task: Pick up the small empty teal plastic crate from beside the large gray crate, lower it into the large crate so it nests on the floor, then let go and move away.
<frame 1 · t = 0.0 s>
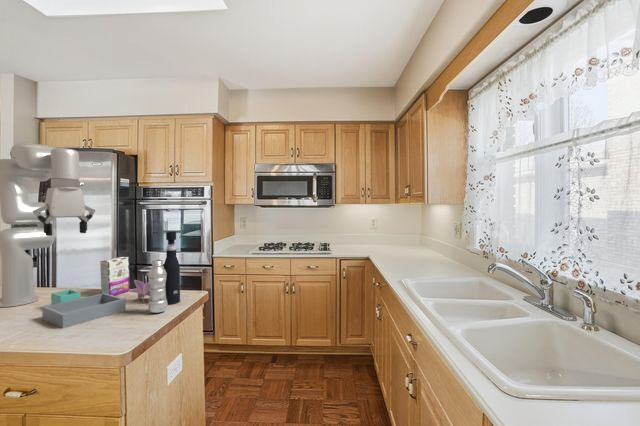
hand: (66, 234, 104), 31 cm above the counter, tool pointing down, fingers open, 9 cm apart
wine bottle: (171, 302, 128), on the counter
plastic bottle: (158, 312, 116), on the counter
lily: (145, 301, 130), on the counter
teal crate: (66, 307, 121), on the counter
gray crate: (85, 314, 113), on the counter
candy bar box: (115, 294, 140), on the counter
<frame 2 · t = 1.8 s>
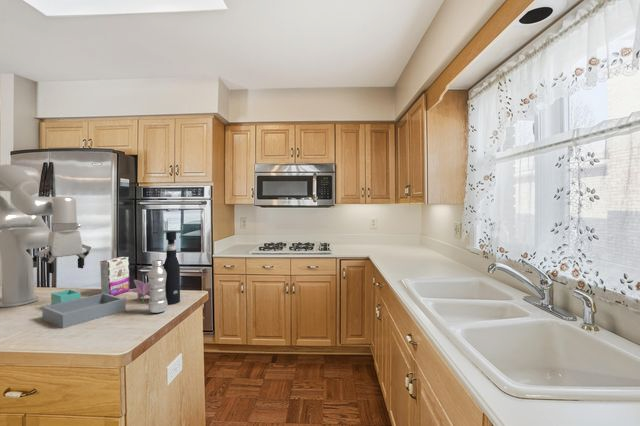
hand: (66, 270, 121), 15 cm above the counter, tool pointing down, fingers open, 9 cm apart
nothing on the counter moved.
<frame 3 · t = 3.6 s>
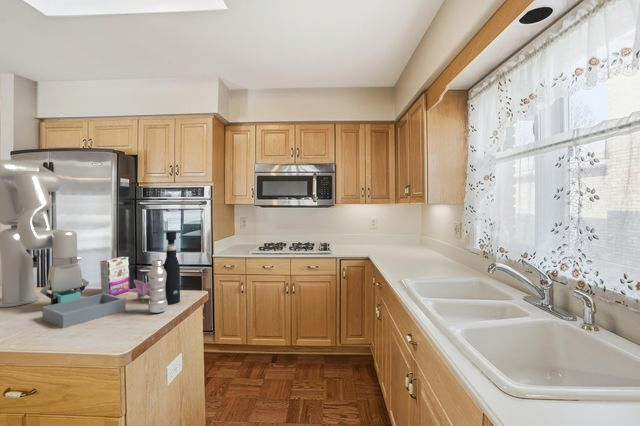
hand: (66, 305, 121), 1 cm above the counter, tool pointing down, fingers closed on teal crate, 6 cm apart
teal crate: (66, 307, 121), on the counter, touching gripper
everything else where it was.
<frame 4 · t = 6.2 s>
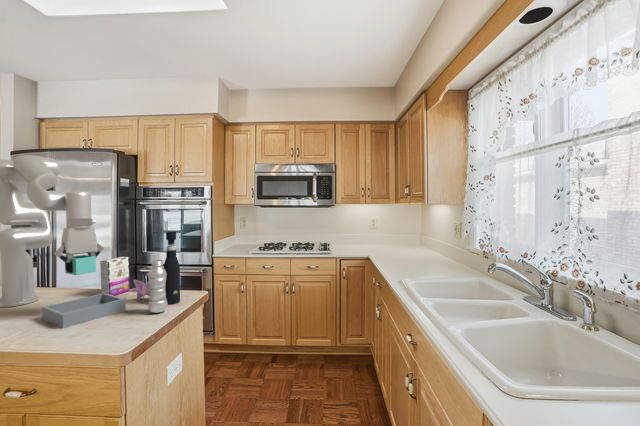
hand: (80, 270, 115), 16 cm above the counter, tool pointing down, fingers closed on teal crate, 6 cm apart
teal crate: (80, 272, 115), point 16 cm above the counter, touching gripper
everything else where it was.
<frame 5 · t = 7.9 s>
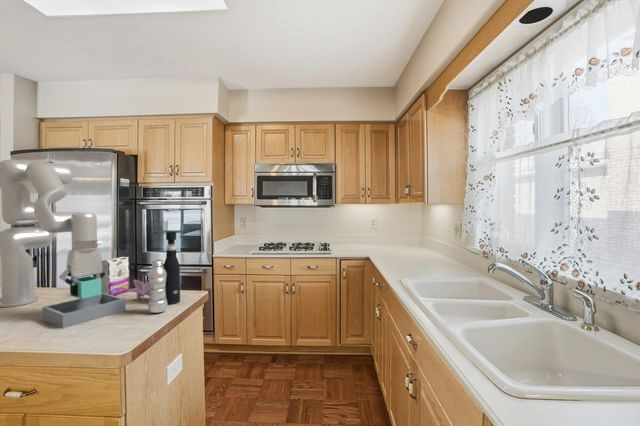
hand: (85, 292, 113), 8 cm above the counter, tool pointing down, fingers closed on teal crate, 6 cm apart
teal crate: (86, 294, 113), point 8 cm above the counter, touching gripper
everything else where it was.
when the fingers open (5 cm above the counter, at t = 9.1 s): teal crate drops 3 cm, resting on gray crate.
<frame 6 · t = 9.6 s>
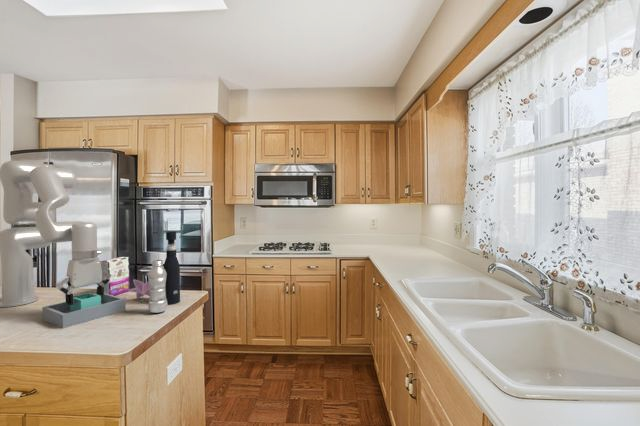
hand: (85, 300, 113), 5 cm above the counter, tool pointing down, fingers open, 9 cm apart
teal crate: (85, 312, 113), point 1 cm above the counter, touching gray crate
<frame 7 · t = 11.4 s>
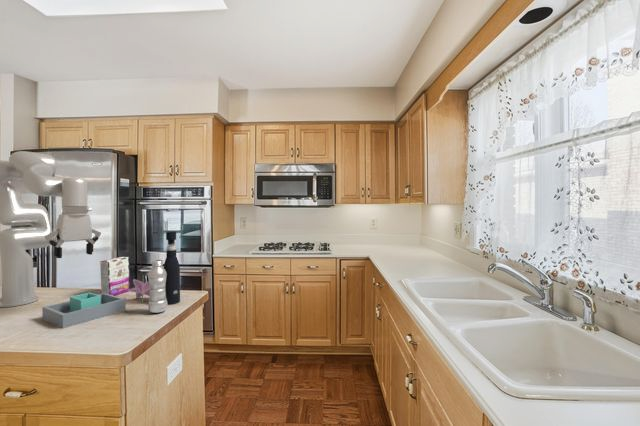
hand: (74, 255, 114), 22 cm above the counter, tool pointing down, fingers open, 9 cm apart
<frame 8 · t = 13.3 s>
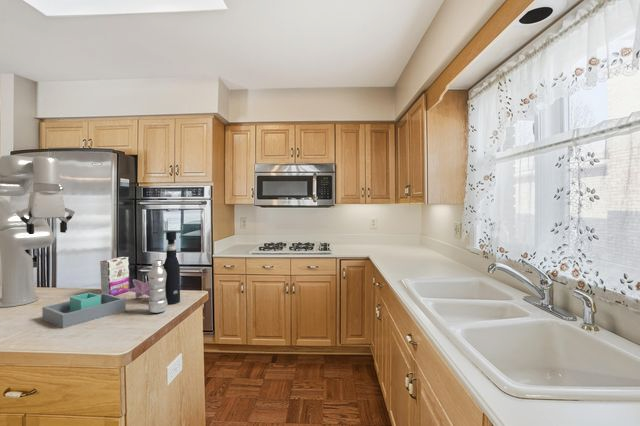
hand: (47, 233, 116), 30 cm above the counter, tool pointing down, fingers open, 9 cm apart
at the end: teal crate inside the target area on the gray crate (0.0 cm from its centre), point 1.0 cm above the gray crate's base; teal crate tilted 0°; the gripper is holding nothing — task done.
